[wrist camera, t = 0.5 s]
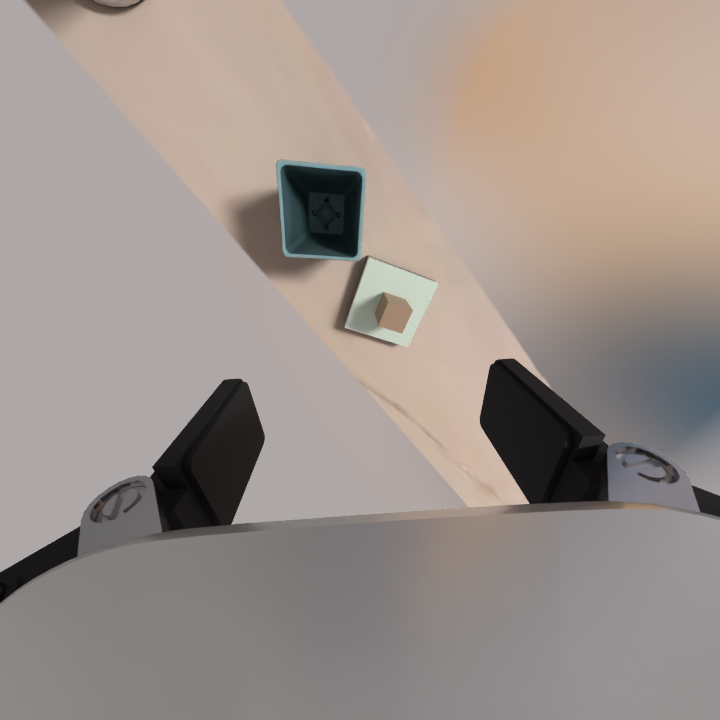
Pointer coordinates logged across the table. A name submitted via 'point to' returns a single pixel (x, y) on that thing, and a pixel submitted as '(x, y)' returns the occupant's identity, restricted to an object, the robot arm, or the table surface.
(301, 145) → the table surface
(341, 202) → the flower pot
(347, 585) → the robot arm
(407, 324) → the lid
